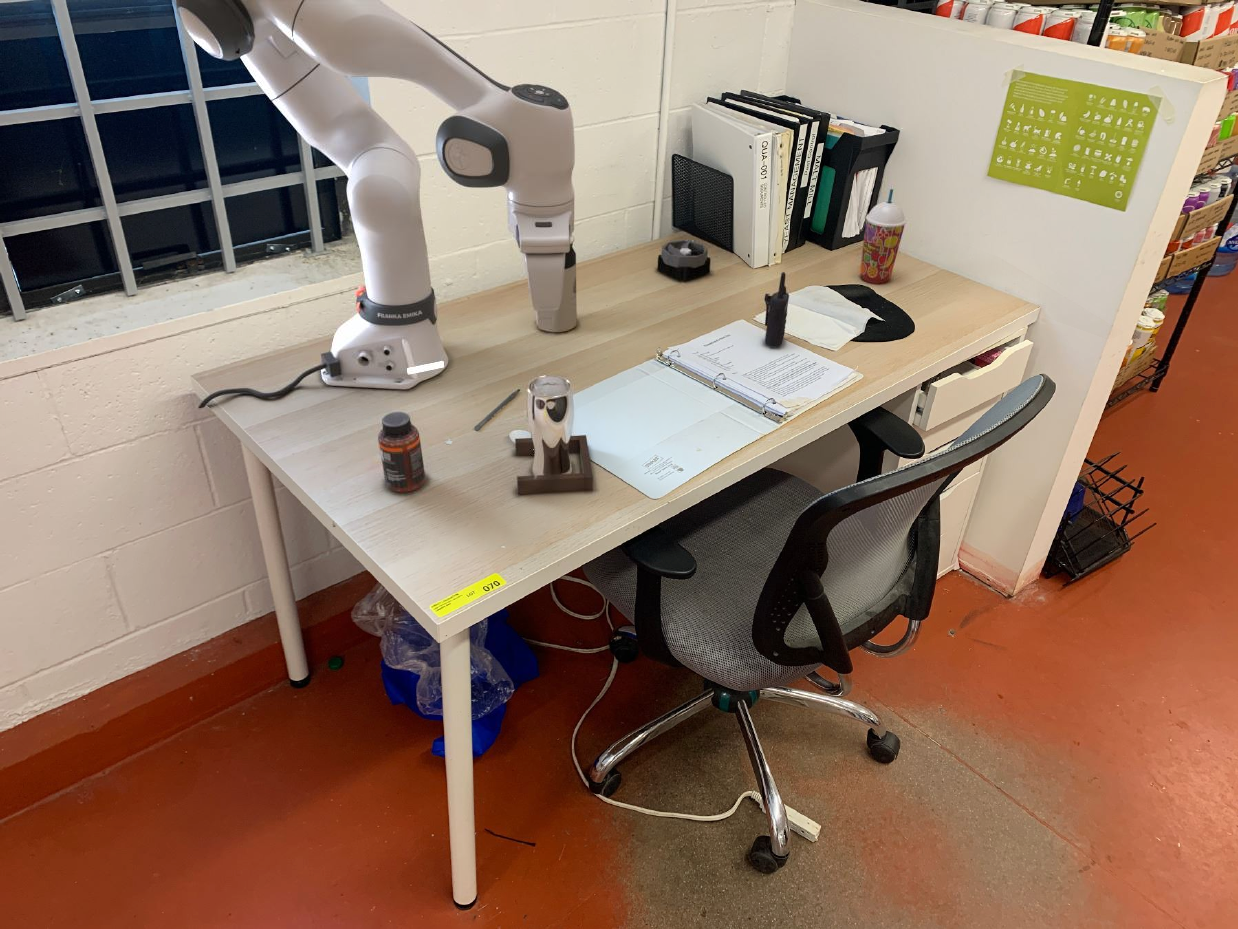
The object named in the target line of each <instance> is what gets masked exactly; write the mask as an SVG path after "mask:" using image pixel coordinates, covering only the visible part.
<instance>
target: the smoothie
mask: <svg viewBox="0 0 1238 929" xmlns="http://www.w3.org/2000/svg"><path fill="white" fill-rule="evenodd" d="M888 193H889V194H888V199H887V201H882V202H879V203H877V204H876V205H874V206H873V207H872V208H871V209H870V211H869V213H868V214H867V215H866V216H865V224H864V225H865V226H864V233H863V234H864V235H863V242H862V243H863V244H862V252H861V253H862V254H861V260H860V267H859V268H860V269H859V273H860V274H861V278H862V280H864V281H865V282H867V283H871V284H884V283H886V282H888V281H889V278H891V276H892V273H893V270H894V266H895V262H896V259H897V255H898V252H899V248H900V245H901V241H902V237H903V234H904V229H905V226H906V223H907V219H906V217H905V213H904V211H903V209H902V207H901V206H900V205H899V204H898V203H896V202H893V201H892V198H893V194H894V189H893V188H890V189H889V192H888Z"/></svg>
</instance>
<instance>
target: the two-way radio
mask: <svg viewBox="0 0 1238 929" xmlns="http://www.w3.org/2000/svg"><path fill="white" fill-rule="evenodd" d="M785 283H786V272H785V271H782V272H781V273H780V279H779V286H778V291H776V292H774V293H773V294H772V295H770V293H765V294H764V302H765V319H764V326H765V327H766V329H765V338H764V343H765V345H767V346H768V347H771V348H780V347H781V345H782V344H783V341H784V338H785V333H786V324H787V317H788V305H789V298H790V294H789V293H788V292H787V286H786V284H785Z"/></svg>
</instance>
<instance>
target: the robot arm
mask: <svg viewBox="0 0 1238 929" xmlns="http://www.w3.org/2000/svg"><path fill="white" fill-rule="evenodd" d="M175 6H176V12H177V16H178V18H179V20H180V22H181V24H182V25H183V27H184V28H185V30H186V31H187V33H188V34H189V36H190V37H191V39H193V41H194V42H195V43H196V44H197V45H198V46H199V47H201V48H202V49H203V50H204V51H205V52H207V53H208V54H209V55H210V56H212V57H214V58H217V59H220V60H223V61H230V62H231V61H234V60H237V59H239V58H240V59H241V61H242V63H243V65H244V66H245V67H246V69H247V70H248V72H249V74H250V75H251V76H252V78H253V79H254V81H255V82H256V83H257V85H258V86H259V87H260V89H261V90H262V91H263V92H264V93H265V95H266V96H267V97H268V98H269V100H270V101H271V102H272V103H273V105H274V106H275V107H276V108H277V109H278V110H279V111H280V113H281V114H282V115H283V116H284V117H285V119H286V120H287V121H288V122H289V123H290V124H291V126H292V127H293V128H294V129H295V130H296V131H297V133H298V134H299V135H300V136H301V137H302V139H303V140H304V141H305V142H306V143H307V144H308V145H310V146H311V147H312V148H315V149H317V150H318V151H319V152H321V153H322V154H323V155H324V156H326V157H327V158H328V159H329V160H330V161H332V162H333V163H334V164H335V165H336V166H337V167H338V168H339V169H341V171H342V172H344V174H345V175H346V177H347V179H348V180H347V184H346V197H347V202H348V203H347V204H348V208H349V212H350V216H351V221H352V226H353V229H354V230H353V231H354V233H355V237H356V241H357V244H358V247H359V252H360V257H361V263H362V269H363V270H362V271H363V276H364V282H365V283H364V284H365V286H364V285H360V286H359V287H357V289H356V293H355V297H356V302H355V303H356V311H357V313H356V314H354V315H353V316H352V317H350V318H349V319H348V320H347V321H346V322H345V323H343V324H342V325H340V326H339V327H338V329H337V331H336V332H335V334H334V336H333V339H332V344H331V349H330V350H329V351H327V352H324V353H320V358H321V364H319V365H316V366H314V367H312V368H308V369H307V370H305V371H304V372H302V373H301V374H300V375H299V376H297V377H296V379H295V380H293V381H292V382H291V383H289V384H287V385H286V386H285V387H284V388H282V389H280V390H277V391H276V390H275V391H273V392H262V391H259V390H257V389H253V388H250V387H237V388H226V389H221V390H218V391H214V392H212V393H211V394H209V395H208V396H206V397H205V398H204V399H203V400H202V401H201V402H200V403H199V405H198V407H197V409H203V408H205V407H206V406H207V404H209V403H210V402H211V401H213V400H214V399H216V398H218V397H221V396H226V395H233V394H251V395H253V396H255V397H259V398H262V399H271V398H277V397H280V396H283V395H284V394H286V393H288V392H289V391H291V390H292V389H293V388H295V387H296V386H297V385H299V384H300V383H301V382H302V381H303V380H304V379H305V378H307V377H309V376H310V375H313V374H314V373H316V372H318V371H319V372H320V373H321V379H322V381H323V382H324V383H325V384H326V385H328V386H335V387H351V388H352V387H353V388H370V389H371V388H372V389H373V388H374V389H387V390H388V389H389V390H409V389H412V388H413V387H416V385H418V384H419V383H421V382H423V381H425V380H428V379H431V378H433V377H436V376H437V375H438V374H440V373H442V372H443V371H444V370H445V369H446V368H447V366H448V364H449V357H448V355H447V353H446V351H445V348H444V345H443V342H442V339H441V336H440V332H439V328H438V324H437V321H438V306H437V297H436V295H435V290H434V288H433V287H432V282H431V273H430V272H431V271H430V262H429V251H428V246H427V245H428V244H427V241H426V235H425V230H424V224H423V216H422V209H421V208H422V207H421V198H420V197H421V177H422V176H421V175H422V169H421V164H420V161H419V158H418V157H417V154H416V153H415V151H414V149H413V148H412V146H410V144H409V143H408V142H407V141H406V140H404V139H403V138H402V137H401V136H400V135H399V134H398V132H397V131H395V129H394V128H393V127H392V126H391V125H390V124H389V123H388V122H387V120H385V119H384V118H383V117H382V116H381V115H380V114H379V113H378V112H377V111H376V110H375V109H374V108H373V107H371V105H370V104H368V102H367V101H366V100H365V99H364V98H363V97H362V95H361V94H360V93H359V92H358V91H357V89H356V88H355V87H354V85H353V84H352V83H351V82H350V80H349V79H348V77H350V78H390V79H399V80H403V81H408V82H411V83H414V84H416V85H419V86H420V87H423V88H424V89H426V90H427V91H428V92H430V93H431V94H433V95H434V96H436V97H437V98H438V99H440V100H441V101H442V102H444V103H445V104H446V105H448V106H449V107H451V109H453V110H455V111H456V112H455V113H453V114H451V115H450V116H449V117H447V118H446V119H444V120H443V121H442V122H441V124H440V125H439V127H438V129H437V132H436V137H435V151H436V156H437V159H438V162H439V164H440V166H441V168H442V170H443V171H444V172H445V174H446V175H447V176H448V177H449V179H451V180H452V181H453V182H455V183H456V184H458V185H459V186H463V187H465V188H471V189H473V188H474V189H475V188H479V189H480V188H481V189H483V188H486V189H487V188H497V187H503V188H504V189H505V190H506V200H507V202H506V203H507V229H508V232H509V233H510V234H511V235H512V236H513V238H514V239H515V241H516V244H517V246H518V249H519V252H520V253H521V254H522V255H523V260H524V264H525V271H526V278H527V284H528V291H529V299H530V305H531V307H532V309H533V310H534V311H535V312H536V311H537V314H538V326H537V327H538V329H539V330H543V329H550V328H551V316H552V310H558V309H559V307H560V303H561V298H562V288H563V278H564V267H565V253H567V252H569V251H570V238H571V235H573V233H574V232H575V189H574V186H573V178H572V176H573V170H574V167H575V162H576V161H575V160H576V153H575V152H576V151H575V150H576V145H575V126H574V118H573V114H572V109H571V106H570V103H569V101H568V100H567V98H566V97H565V96H564V95H563V94H562V93H560V92H559V91H558V90H556V89H553V88H551V87H548V86H545V85H541V84H531V83H522V84H517V85H514V86H512V87H511V86H508V85H505V84H503V83H500V82H498V81H496V80H495V79H493V78H491V77H490V76H489V75H487V74H486V73H484V72H483V71H482V70H481V69H479V68H478V67H476V66H475V65H473V64H472V63H471V62H470V61H468V60H467V59H465V58H464V57H463V56H461V55H460V54H459V53H457V52H456V51H455V50H453V49H452V48H451V47H449V46H448V45H446V44H445V43H444V42H442V41H441V40H440V39H438V38H437V37H436V36H434V35H433V34H431V33H430V32H428V31H427V30H426V29H424V28H422V27H421V26H419V25H418V24H416V23H414V22H413V21H411V20H409V19H408V18H406V17H405V16H403V15H402V14H400V13H399V12H397V11H395V10H394V9H393V8H391V7H390V6H389V5H387V4H386V3H384V1H382V0H175Z"/></svg>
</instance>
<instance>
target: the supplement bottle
mask: <svg viewBox="0 0 1238 929" xmlns="http://www.w3.org/2000/svg"><path fill="white" fill-rule="evenodd" d="M381 424H382V428H381V429H380V431H379V433H378V435H377V441H378V447H379V453H380V454H379V455H380V458H381V465H382V472H383V477H384V481H385V485H386V486H387V488H388V489H389V490H391V491H394V492H399V493H405V492H411V491H414V490H416V489H418V488H420V487H421V486H423V484H424V483H425V480H426V472H425V471H426V470H425V464H424V459H423V452H422V450H423V449H422V443H421V437H420V433H419V430H418V427H416V426H415V425H414V424H412V421H411V417H410V415H409V414H408V413H405V412H403V411H393V412H389V413H387V414H386V415H384V416H383V417H382V419H381Z"/></svg>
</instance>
